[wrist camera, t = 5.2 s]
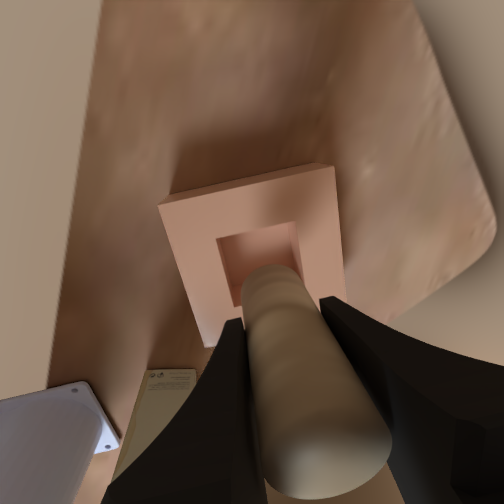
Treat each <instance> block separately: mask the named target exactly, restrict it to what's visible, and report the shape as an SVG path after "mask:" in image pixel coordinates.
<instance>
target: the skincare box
mask: <svg viewBox="0 0 504 504" xmlns="http://www.w3.org/2000/svg"><path fill="white" fill-rule="evenodd" d="M195 385H196V370H195V369H163V370H146V371H145V373H144V376H143V380H142V383H141V386H140V389H139V393H138V396H137V399H136V402H135V406H134V409H133V412H132V416H131V419H130V422H129V425H128V429H127V432H126V435H125V438H124V442H123V445H122V448H121V451H120V455H119V458H118V461H117V464H116V468H115V471H114V474H113V477H112V480H111V483H112V482H113V481H114V480H115V479H116V478H117V477H118V476H119V475H120V474H121V473H122V472H123V471H124V470H125V469H126V468H127V467H128V466H129V465H130V464H131V463H132V462H133V461H134V460H135V459H136V458H137V457H138V456H139V455H140V454H141V453H142V452H143V451H144V450H145V449H146V448H147V447H148V446H149V445H150V444H151V443H152V442H153V440H154V439H155V438H156V437H157V436H158V435H159V434H160V433H161V431H162V430H163V429H164V428H165V427H166V426H167V424H168V423H169V422H170V421H171V419H172V418H173V417H174V415H175V414H176V413H177V411H178V410H179V409H180V407H181V406H182V405H183V403H184V402H185V400H186V399H187V398H188V396H189V394H190V393H191V391H192V390H193V388H194V387H195Z"/></svg>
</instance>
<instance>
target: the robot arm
mask: <svg viewBox="0 0 504 504" xmlns="http://www.w3.org/2000/svg"><path fill="white" fill-rule="evenodd" d="M319 304H320V312H321V314H322V316H323V318H324V319H325V321H326V323H327V325H328V326H329V328H330V330H331V331H332V333H333V335H334V336H335V338H336V340H337V342H338V343H339V345H340V347H341V348H342V350H343V352H344V353H345V355H346V357H347V359H348V360H349V362H350V364H351V365H352V367H353V369H354V370H355V372H356V374H357V376H358V377H359V379H360V381H361V382H362V384H363V386H364V387H365V389H366V391H367V393H368V394H369V396H370V398H371V399H372V401H373V403H374V404H375V406H376V408H377V410H378V411H379V413H380V415H381V416H382V418H383V420H384V422H385V423H386V425H387V427H388V428H389V430H390V433H391V436H392V448H391V452H390V455H389V457H388V459H387V463H388V466H389V468H390V470H391V472H392V474H393V477H394V479H395V481H396V483H397V486H398V488H399V490H400V493H401V495H402V497H403V500H404V502H405V504H504V366H501V365H497V364H493V363H489V362H485V361H482V360H478V359H474V358H471V357H467V356H463V355H460V354H457V353H454V352H451V351H448V350H445V349H442V348H439V347H436V346H433V345H430V344H427V343H425V342H422V341H420V340H417V339H415V338H412V337H410V336H407V335H405V334H403V333H401V332H398V331H396V330H394V329H392V328H390V327H388V326H386V325H384V324H382V323H380V322H378V321H376V320H374V319H372V318H371V317H369V316H367V315H365V314H363V313H362V312H360V311H358V310H357V309H355V308H353V307H352V306H350V305H348V304H347V303H345V302H343V301H342V300H340V299H338V298H337V297H335V296H329V297H325V298H321V299H319ZM75 388H76V389H75ZM119 445H120V439H119V438H118V436H117V434H116V432H115V431H114V429H113V427H112V425H111V423H110V422H109V420H108V418H107V416H106V415H105V413H104V411H103V409H102V407H101V406H100V404H99V402H98V400H97V399H96V397H95V395H94V393H93V391H92V390H91V388H90V386H89V384H88V383H86V382H84V381H80V382H76V383H71V384H67V385H63V386H59V387H54V388H50V389H46V390H42V391H37V392H33V393H29V394H25V395H20V396H16V397H12V398H8V399H4V400H0V504H73V502H74V500H75V498H76V495H77V493H78V490H79V488H80V486H81V483H82V481H83V478H84V476H85V474H86V471H87V469H88V466H89V464H90V462H91V459H92V457H93V455H94V454H96V453H100V452H104V451H108V450H112V449H116V448H118V447H119ZM101 504H268V501H267V494H266V488H265V481H264V475H263V473H262V467H261V459H260V451H259V443H258V435H257V426H256V418H255V410H254V402H253V394H252V385H251V377H250V369H249V361H248V352H247V343H246V335H245V329H244V325H243V322H242V318H241V317H239V318H234V319H230V320H227V321H226V322H225V324H224V327H223V330H222V332H221V335H220V338H219V340H218V342H217V345H216V347H215V349H214V351H213V354H212V356H211V358H210V360H209V362H208V364H207V366H206V367H205V369H204V371H203V373H202V375H201V377H200V378H199V380H198V382H197V384H196V385H195V387H194V388H193V390H192V391H191V393H190V394H189V396H188V398H187V399H186V400H185V402H184V403H183V405H182V406H181V407H180V409H179V410H178V411H177V413H176V414H175V415H174V417H173V418H172V419H171V421H170V422H169V423H168V424H167V426H166V427H165V428H164V429H163V430H162V431H161V433H160V434H159V435H158V436H157V437H156V438H155V439H154V440H153V442H152V443H151V444H150V445H149V446H148V447H147V448H146V449H145V450H144V451H143V452H142V453H141V454H140V455H139V456H138V457H137V458H136V459H135V460H134V461H133V462H132V463H131V464H130V465H129V466H128V467H127V468H126V469H125V470H124V471H123V472H122V473H121V474H120V475H119V476H118V477H117V478H116V479H115V480H114V481H113V482H112V483H111V484H110V485H109V486H108V487H107V489H106V492H105V494H104V497H103V499H102V501H101Z"/></svg>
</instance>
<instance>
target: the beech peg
mask: <svg viewBox="0 0 504 504" xmlns="http://www.w3.org/2000/svg"><path fill="white" fill-rule="evenodd" d="M241 303H242V312H243V320H244V328H245V335H246V343H247V352H248V361H249V369H250V377H251V385H252V394H253V402H254V410H255V418H256V426H257V435H258V443H259V451H260V459H261V467H262V473H263V475H264V478H265V479H266V481H267V482H268V483H269V484H270V485H271V487H273V488H274V489H275V490H277V491H278V492H280V493H282V494H285V495H287V496H290V497H294V498H300V499H321V498H328V497H333V496H337V495H340V494H343V493H346V492H349V491H351V490H353V489H355V488H357V487H358V486H361V485H362V484H364V483H365V482H367V481H368V480H370V479H371V478H372V477H373V476H374V475H376V474H377V473H378V471H379V470H380V469H381V468H382V467H383V466H384V464H385V463H386V461H387V459H388V457H389V455H390V452H391V448H392V436H391V433H390V430H389V428H388V427H387V425H386V423H385V422H384V420H383V418H382V416H381V415H380V413H379V411H378V410H377V408H376V406H375V404H374V403H373V401H372V399H371V398H370V396H369V394H368V393H367V391H366V389H365V387H364V386H363V384H362V382H361V381H360V379H359V377H358V376H357V374H356V372H355V370H354V369H353V367H352V365H351V364H350V362H349V360H348V359H347V357H346V355H345V353H344V352H343V350H342V348H341V347H340V345H339V343H338V342H337V340H336V338H335V336H334V335H333V333H332V331H331V330H330V328H329V326H328V325H327V323H326V321H325V319H324V318H323V316H322V314H321V313H320V311H319V309H318V308H317V306H316V304H315V302H314V301H313V299H312V297H311V296H310V294H309V292H308V291H307V289H306V287H305V285H304V284H303V282H302V280H301V279H300V277H299V275H298V274H297V273H296V272H295V271H294V270H292V269H291V268H289V267H287V266H284V265H280V264H269V265H265V266H262V267H259V268H257V269H256V270H254V271H253V272H251V273H250V274H249V275H248V276H247V278H246V279H245V281H244V282H243V285H242V288H241Z"/></svg>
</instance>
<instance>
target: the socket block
mask: <svg viewBox="0 0 504 504" xmlns="http://www.w3.org/2000/svg"><path fill="white" fill-rule="evenodd" d="M157 206H158V209H159V212H160V215H161V218H162V221H163V224H164V227H165V230H166V233H167V236H168V239H169V242H170V245H171V248H172V251H173V254H174V257H175V260H176V263H177V266H178V269H179V272H180V275H181V278H182V281H183V284H184V287H185V290H186V293H187V296H188V298H189V301H190V304H191V307H192V310H193V313H194V316H195V319H196V322H197V325H198V328H199V331H200V334H201V337H202V340H203V343H204V346H205V348H208V347H213V346H216V345H217V342H218V340H219V338H220V335H221V332H222V330H223V327H224V324H225V322H226V321H227V320H230V319H234V318H239V317H241V318H242V322H243V325H244V320H243V312H242V303H241V288H242V285H243V282H244V281H245V279H246V278H247V276H248V275H249V274H250V273H251V272H253V271H254V270H256V269H257V268H259V267H262V266H265V265H269V264H280V265H284V266H287V267H289V268H291V269H292V270H294V271H295V272H296V273H297V274H298V275H299V277H300V279H301V280H302V282H303V284H304V285H305V287H306V289H307V291H308V292H309V294H310V296H311V297H312V299H313V301H314V302H315V304H316V306H317V308H318V309H319V311H320V304H319V299H321V298H325V297H329V296H335V297H337V298H338V299H340V300H342V301H343V302H345V303H347V301H346V290H345V279H344V268H343V257H342V246H341V235H340V224H339V213H338V202H337V191H336V180H335V169H334V166H332V165H327V164H321V163H316V162H313V163H309V164H304V165H300V166H295V167H291V168H286V169H282V170H277V171H273V172H269V173H264V174H260V175H255V176H251V177H246V178H242V179H237V180H233V181H228V182H224V183H219V184H215V185H210V186H206V187H201V188H197V189H192V190H188V191H183V192H179V193H174V194H170V195H168V196H167V197H166V198H165V199H164V200H163V201H162V202H161V203H159V204H158V205H157ZM320 313H321V312H320ZM244 329H245V328H244Z"/></svg>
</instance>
